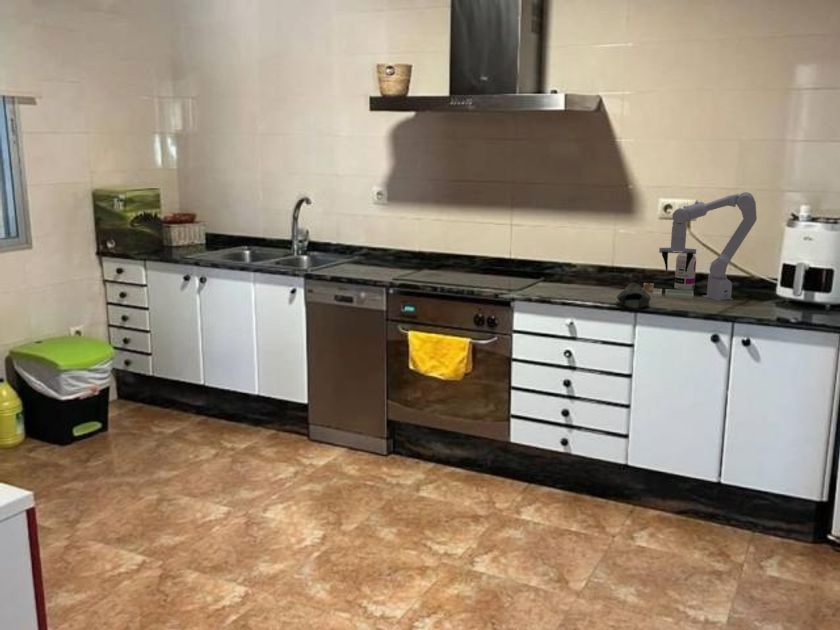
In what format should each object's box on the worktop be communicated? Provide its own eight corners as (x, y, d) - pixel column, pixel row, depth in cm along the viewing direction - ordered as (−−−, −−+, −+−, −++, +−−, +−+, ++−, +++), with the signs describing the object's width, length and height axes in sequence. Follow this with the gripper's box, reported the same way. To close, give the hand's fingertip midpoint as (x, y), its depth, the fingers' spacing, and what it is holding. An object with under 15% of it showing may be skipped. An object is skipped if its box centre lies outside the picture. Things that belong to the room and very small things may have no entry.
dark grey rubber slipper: (650, 310, 316) (652, 296, 340) (649, 291, 315) (651, 279, 338) (615, 310, 320) (619, 296, 344) (614, 292, 319) (618, 279, 342)
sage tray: (692, 294, 345) (693, 290, 344) (693, 300, 334) (693, 295, 334) (665, 293, 348) (665, 289, 347) (665, 298, 337) (665, 294, 337)
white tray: (661, 293, 348) (662, 288, 348) (661, 298, 338) (661, 293, 337) (634, 291, 351) (635, 287, 351) (633, 296, 341) (633, 292, 341)
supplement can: (693, 288, 359) (696, 254, 356) (694, 291, 351) (697, 256, 348) (674, 287, 361) (676, 253, 358) (674, 290, 353) (676, 256, 350)
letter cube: (653, 292, 346) (653, 283, 345) (652, 294, 342) (653, 284, 341) (643, 292, 347) (643, 282, 346) (642, 294, 343) (643, 284, 342)
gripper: (660, 238, 337) (657, 271, 340) (697, 240, 333) (694, 273, 336) (660, 236, 343) (658, 268, 346) (697, 237, 339) (694, 270, 342)
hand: (676, 270), depth 341 cm, fingers open, 7 cm apart
